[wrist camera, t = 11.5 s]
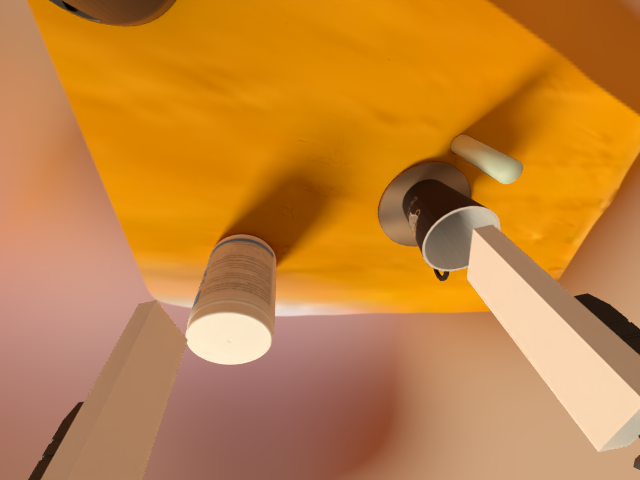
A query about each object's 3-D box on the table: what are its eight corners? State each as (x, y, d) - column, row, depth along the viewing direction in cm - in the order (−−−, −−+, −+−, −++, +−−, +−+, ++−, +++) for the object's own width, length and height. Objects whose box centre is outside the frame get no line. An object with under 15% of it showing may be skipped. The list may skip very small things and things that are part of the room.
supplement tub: (200, 240, 41) (164, 322, 29) (264, 224, 40) (254, 300, 28) (228, 288, 46) (207, 373, 34) (285, 274, 46) (284, 356, 34)
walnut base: (367, 183, 38) (369, 186, 38) (464, 146, 37) (467, 148, 36) (389, 254, 46) (390, 257, 45) (470, 225, 44) (473, 228, 43)
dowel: (449, 138, 36) (498, 166, 28) (468, 131, 36) (523, 156, 28) (451, 156, 37) (498, 187, 29) (470, 149, 37) (522, 178, 29)
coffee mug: (414, 162, 36) (451, 196, 28) (468, 182, 39) (517, 218, 31) (374, 235, 42) (395, 281, 34) (423, 249, 45) (454, 295, 36)
